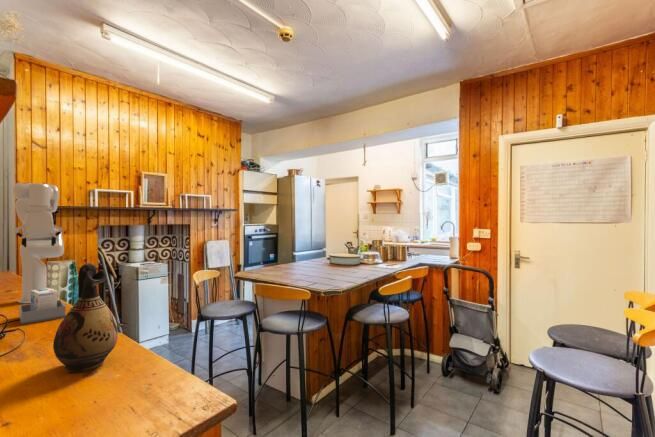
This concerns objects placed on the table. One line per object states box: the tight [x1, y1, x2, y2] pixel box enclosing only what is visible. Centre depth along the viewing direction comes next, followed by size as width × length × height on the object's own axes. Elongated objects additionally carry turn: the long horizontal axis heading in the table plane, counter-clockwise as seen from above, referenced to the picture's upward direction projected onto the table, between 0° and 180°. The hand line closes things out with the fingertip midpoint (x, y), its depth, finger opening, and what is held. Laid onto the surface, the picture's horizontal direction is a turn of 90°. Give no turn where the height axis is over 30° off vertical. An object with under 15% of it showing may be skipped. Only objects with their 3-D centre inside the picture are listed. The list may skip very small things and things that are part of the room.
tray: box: [18, 299, 66, 326], centre depth 140 cm, size 15×14×5 cm
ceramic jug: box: [52, 262, 119, 374], centre depth 95 cm, size 17×15×30 cm
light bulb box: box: [30, 287, 58, 311], centre depth 140 cm, size 11×7×11 cm, turn 56°
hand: (39, 246), depth 149 cm, fingers open, 9 cm apart
